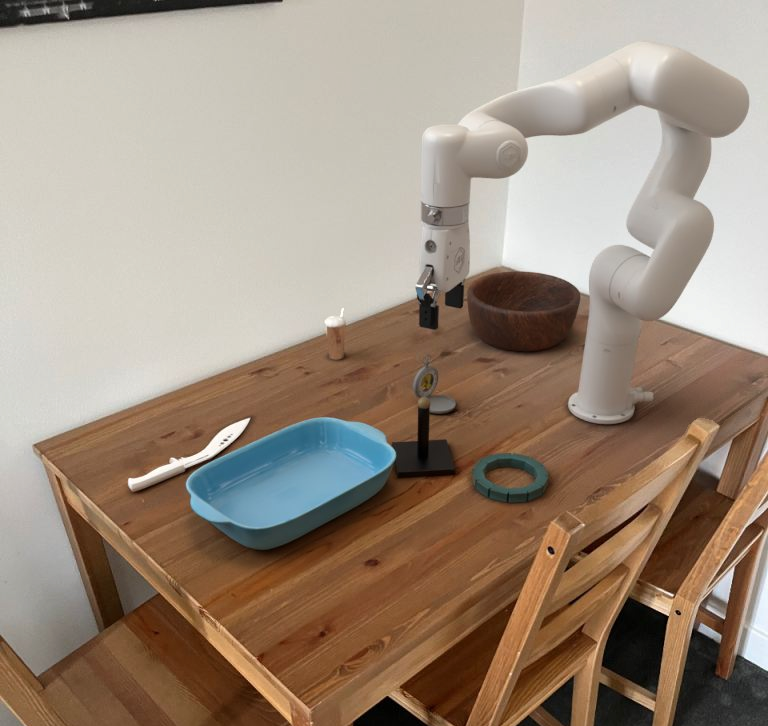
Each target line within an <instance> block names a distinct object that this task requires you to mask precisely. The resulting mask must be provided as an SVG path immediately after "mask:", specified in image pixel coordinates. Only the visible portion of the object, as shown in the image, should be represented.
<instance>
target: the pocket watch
mask: <svg viewBox="0 0 768 726" xmlns="http://www.w3.org/2000/svg"><path fill="white" fill-rule="evenodd" d="M426 356H428V358H429V359H427V358H426V359H425V361H423V360H424V358H425V357H426ZM431 359H432V356H431V355H430V354H429V353H427V354H424V355H422V357H421V360H420V361H421V363H422V364H424V366H423V367H421V368H420V369H419V370H418V371H417V373H416V375H415V377H414V378H413V383H412V391H413V394H414V395H415V396H416V397H417V398H418V399H420V398H421V397H427V398H428V399H429V400H430V403H431V404H430V414H431V413H432V414H438V415H441V414H448V413H450V412H453V410H455V408H456V406H457V405H456V400H455V399H454V398H452V397H451V396H449V395H444V394H433V393H434V392H435V390H436V388H437V385H438V382H439V372H438V371H439V370H438V369H437V368H436V367H435V366H433V365H429V364H430V361H431Z"/></svg>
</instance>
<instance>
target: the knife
mask: <svg viewBox="0 0 768 726" xmlns="http://www.w3.org/2000/svg"><path fill="white" fill-rule="evenodd" d="M250 420H251V417H248V418H245V419H241V420H239V421H237V422H234V423H232V424H230V425H227V426H226V427H225V428H223V429H221V430H220V431H219V432H218V433H217V434H216V435H215V436H214V437H213V438H212V439H211V440H210V442H209V443H208V445H206V447H205V448H204V449H202V450H201V451H199V452H198V453H195V454H194V455H191V456H187V457H179V458H178V459H177V458H175V457H170V458H169V463H168V464H164V465H161V466H159V467H157V468H156V469H153V470H151V471H150V472H148V473H147V474H144V475H142V476H138V477H134V478H132V477H129V478H128V479H127V486H128V488H129V489H130V491H131V492H132V493H133V492H138V491H140V490H144V489H146V488H148V487H151V486H153V485H157V484H158V483H160V482H163V481H166V480H168V479H170V478H173V477H175V476H177V475H180V474H182V473H184V472H186V469H187V468H190V467H193V466H194V465H197V464H200V463H202V462H204V461H206V460H212V458H214V457H215V456H216V455H218V454H220V452H221V451H223V450H224V449H225V448H227V447H228V446H229V445H231V443H233V442H234V441H235V440H236V439H237V438H238V437H239V436H240V435H241V434H242V433H243V432H244V430H245V429H246V427H247V426H248V424H249V422H250Z"/></svg>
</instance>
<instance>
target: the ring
mask: <svg viewBox="0 0 768 726" xmlns="http://www.w3.org/2000/svg"><path fill="white" fill-rule="evenodd" d="M509 467H511V468H515V469H519V470H524V471H525V472H526V473H529V474H530V475H531V476H533V478H534V482H532V483H530V484H527V485H525V486H522V487H521V486H520V487H506V486H502V485H497V484H495V483H493V482H492V481H491V480H489V479H487V478H486V474H487V473H488V472H490V471H493V470H495V469H497V468H509ZM471 480H472V483H473V486H474V489H475V490H476V491H477V492H479V493H480V494H481V495H483V496H485V497H486V498H489V499H490V500H494V501H498V502H503V503H509V504H513V503H527V502H531V501H533V500H535V499H537V498H539V497H542V495H544V493H545V491H546V489H547V488H548V485H549V473H548V471H547V468H546V466H545V465H544V464H543V463H541V462H540V461H538V460H537V459H535V458H533V457H532V456H529V455H525V454H519V453H516V452H513V453H512V452H502V453H500V452H499V453H494V454H493V453H492V454H489V455H486V456H485V457H481V458H479V460H477V462H476V464H475V465H474V466H473V467H472V471H471Z"/></svg>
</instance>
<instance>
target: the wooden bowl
mask: <svg viewBox="0 0 768 726" xmlns="http://www.w3.org/2000/svg"><path fill="white" fill-rule="evenodd" d="M581 299H582V298H581V293H580V290H579V288H578V287H576V285H574V284H572V283H571V282H569V281H568V280H566V279H564V278H561V277H558V276H555V275H550V274H546V273H542V272H535V271H523V270H522V271H521V270H520V271H518V270H517V271H514V270H513V271H501V272H495V273H494V272H493V273H490V274H487V275H483V276H481V277H479V278H477V279H475V280H473V281H472V282H470V284H469V285H468V287H467V290H466V300H467V312H468V316H469V317H468V319H469V321H470V324H471V326H472V329H473V332H474V333H475V334H476V336H477V337H478V338H479V339H480V340H481V341H482V342H484V343H486V344H488V345H490V346H492V347H495V348H497V349H501V350H505V351H510V352H511V351H512V352H537V351H543V350H547V349H550V348H552V347H555V346H557V345H558V344H559V343H560V344H561V342H562V341H563V340H565V338H566V337H567V336H568V334H569V332H570V331H571V329H572V327H573V325H574V323H575V320H576V317H577V314H578V312H579V311H578V310H579V307H580V303H581Z"/></svg>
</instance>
